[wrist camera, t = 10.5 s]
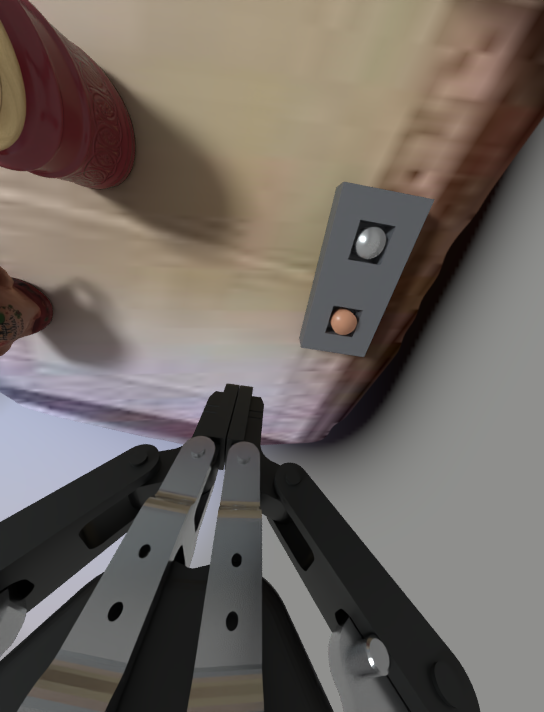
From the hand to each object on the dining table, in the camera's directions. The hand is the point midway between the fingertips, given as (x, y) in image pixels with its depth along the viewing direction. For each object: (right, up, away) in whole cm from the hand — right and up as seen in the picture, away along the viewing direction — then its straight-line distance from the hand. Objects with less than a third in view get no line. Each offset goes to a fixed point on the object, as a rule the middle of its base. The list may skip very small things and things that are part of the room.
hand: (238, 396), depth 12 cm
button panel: (+15, +15, +24) cm, 32 cm away
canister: (-22, +32, +16) cm, 42 cm away
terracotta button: (+14, +9, +26) cm, 31 cm away
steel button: (+16, +20, +20) cm, 33 cm away
